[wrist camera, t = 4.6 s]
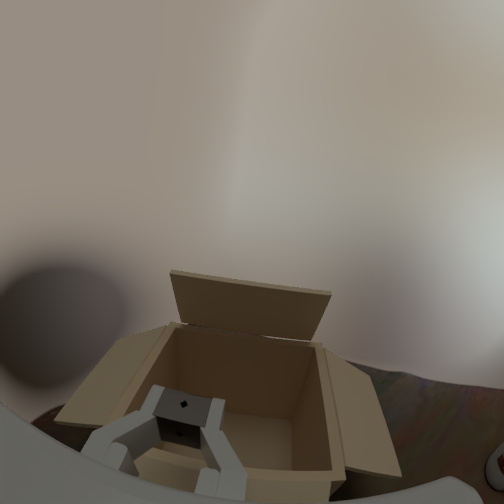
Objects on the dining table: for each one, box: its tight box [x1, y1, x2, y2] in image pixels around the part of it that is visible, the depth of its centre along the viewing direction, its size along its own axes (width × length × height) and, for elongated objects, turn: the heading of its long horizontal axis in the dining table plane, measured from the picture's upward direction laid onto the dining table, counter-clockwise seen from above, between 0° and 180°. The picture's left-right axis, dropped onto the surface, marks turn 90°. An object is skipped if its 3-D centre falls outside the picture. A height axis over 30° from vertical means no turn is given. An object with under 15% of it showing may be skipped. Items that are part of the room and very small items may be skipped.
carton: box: [54, 322, 402, 503], centre depth 17 cm, size 21×27×12 cm
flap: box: [170, 270, 332, 341], centre depth 23 cm, size 7×13×1 cm
